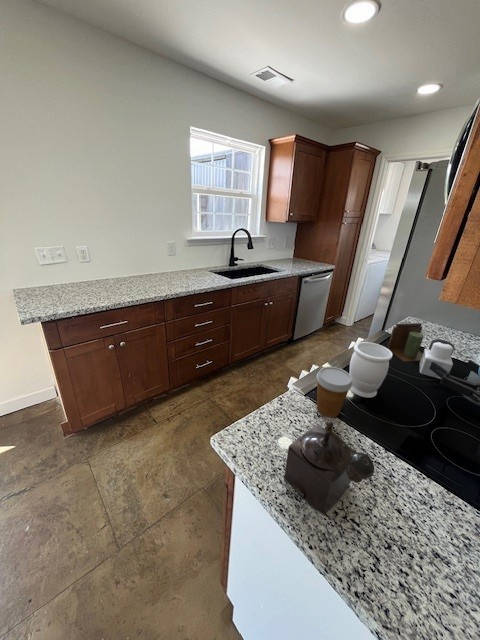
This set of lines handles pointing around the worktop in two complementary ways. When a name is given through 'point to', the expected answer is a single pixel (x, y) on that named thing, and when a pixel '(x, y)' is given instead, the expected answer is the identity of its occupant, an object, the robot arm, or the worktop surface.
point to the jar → (368, 368)
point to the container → (437, 357)
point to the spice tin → (413, 344)
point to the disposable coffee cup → (332, 390)
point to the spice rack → (403, 340)
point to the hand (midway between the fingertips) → (449, 364)
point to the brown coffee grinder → (324, 467)
